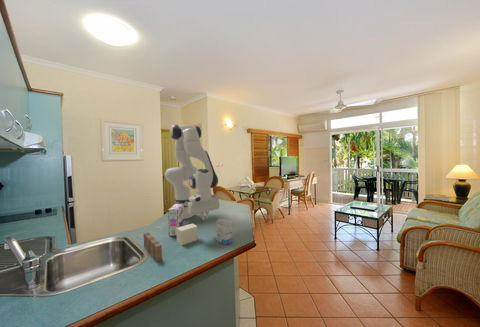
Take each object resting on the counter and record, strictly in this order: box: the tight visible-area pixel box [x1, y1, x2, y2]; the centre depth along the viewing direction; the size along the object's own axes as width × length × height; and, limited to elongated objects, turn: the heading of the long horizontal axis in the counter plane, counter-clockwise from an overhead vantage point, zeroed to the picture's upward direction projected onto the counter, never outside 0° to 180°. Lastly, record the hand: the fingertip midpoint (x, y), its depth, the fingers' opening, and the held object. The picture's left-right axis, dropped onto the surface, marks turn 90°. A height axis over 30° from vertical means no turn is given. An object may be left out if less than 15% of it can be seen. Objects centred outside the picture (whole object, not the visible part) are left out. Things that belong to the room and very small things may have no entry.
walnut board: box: [143, 232, 163, 262], centre depth 97 cm, size 20×2×7 cm, turn 42°
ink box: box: [216, 218, 233, 246], centre depth 108 cm, size 9×5×12 cm, turn 44°
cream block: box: [176, 223, 199, 246], centre depth 110 cm, size 6×10×8 cm, turn 132°
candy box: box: [167, 203, 186, 237], centre depth 122 cm, size 14×6×16 cm, turn 0°
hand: (204, 219), depth 116 cm, fingers closed
